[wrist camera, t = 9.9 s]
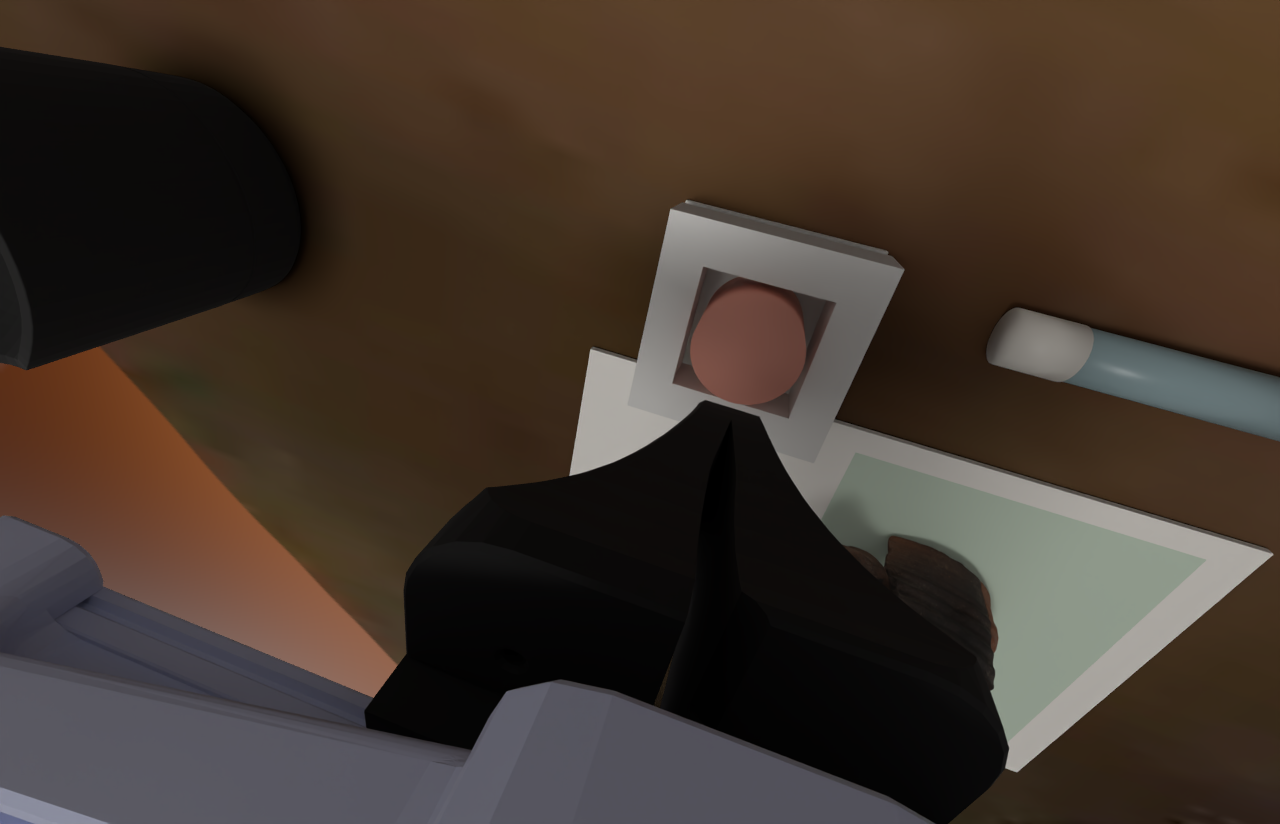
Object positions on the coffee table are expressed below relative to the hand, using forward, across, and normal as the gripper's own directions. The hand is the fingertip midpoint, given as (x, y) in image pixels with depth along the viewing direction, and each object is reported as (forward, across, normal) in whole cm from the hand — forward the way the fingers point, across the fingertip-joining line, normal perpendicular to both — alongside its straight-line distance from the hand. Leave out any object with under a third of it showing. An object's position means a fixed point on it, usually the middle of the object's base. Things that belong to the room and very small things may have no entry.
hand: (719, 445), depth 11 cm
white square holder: (+9, 0, 0) cm, 9 cm away
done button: (+9, 0, 0) cm, 9 cm away
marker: (+9, -13, -2) cm, 16 cm away
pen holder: (+10, +24, +1) cm, 26 cm away
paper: (+9, -7, +11) cm, 16 cm away
